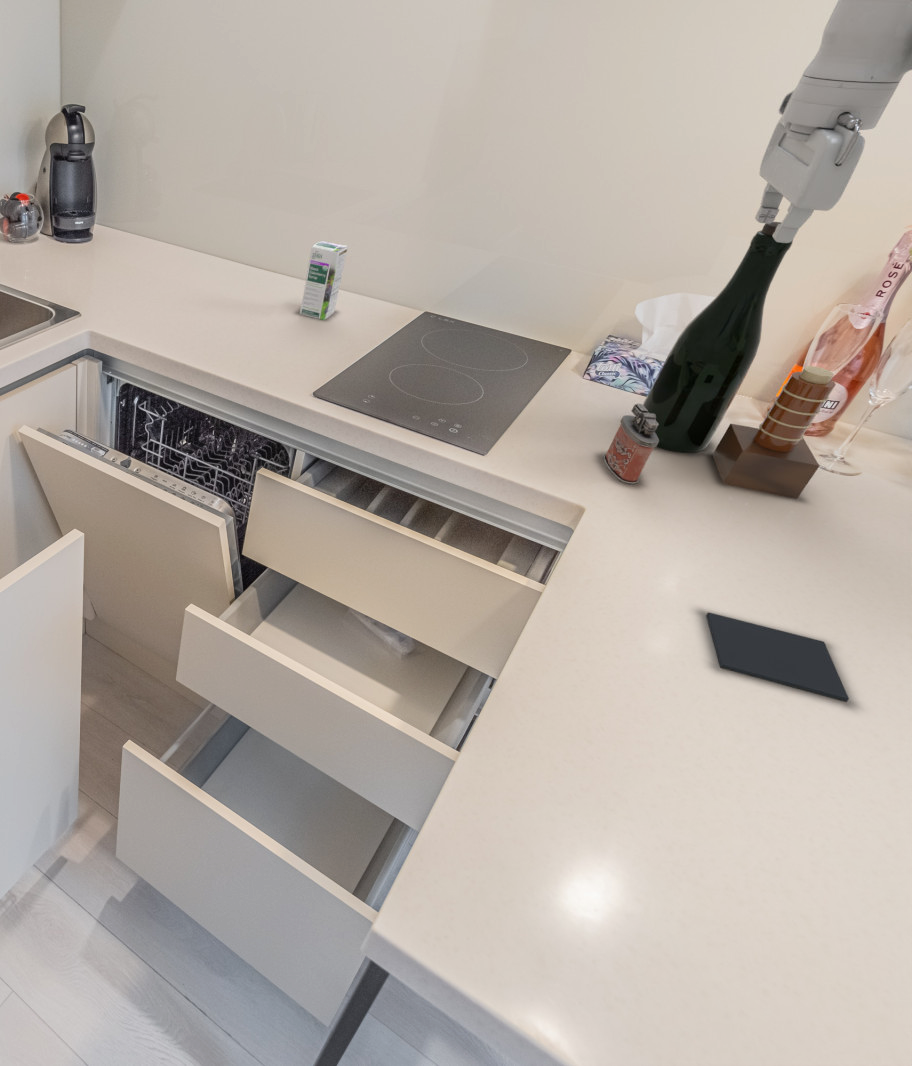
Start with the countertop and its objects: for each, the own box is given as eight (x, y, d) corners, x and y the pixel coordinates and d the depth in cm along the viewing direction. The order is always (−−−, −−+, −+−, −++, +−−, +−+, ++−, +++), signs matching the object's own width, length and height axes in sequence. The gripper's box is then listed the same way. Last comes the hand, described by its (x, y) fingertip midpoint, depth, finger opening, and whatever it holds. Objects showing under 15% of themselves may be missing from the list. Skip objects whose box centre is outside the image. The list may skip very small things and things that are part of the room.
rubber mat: (818, 647, 84) (824, 641, 83) (843, 705, 77) (849, 699, 76) (703, 618, 87) (708, 611, 87) (717, 671, 81) (722, 664, 80)
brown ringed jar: (790, 439, 109) (836, 367, 102) (799, 456, 105) (847, 382, 99) (748, 431, 111) (791, 360, 104) (756, 447, 107) (801, 374, 100)
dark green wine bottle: (720, 449, 119) (848, 230, 99) (674, 461, 115) (797, 238, 95) (659, 419, 126) (767, 210, 106) (614, 429, 123) (717, 216, 103)
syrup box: (298, 316, 160) (310, 245, 152) (309, 308, 164) (322, 239, 155) (323, 322, 158) (337, 251, 149) (334, 314, 162) (349, 244, 153)
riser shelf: (779, 471, 114) (802, 436, 110) (795, 502, 107) (819, 465, 103) (710, 457, 116) (730, 423, 113) (721, 486, 110) (742, 450, 106)
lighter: (641, 488, 109) (673, 427, 103) (616, 486, 109) (647, 425, 103) (620, 460, 115) (649, 400, 109) (596, 457, 116) (624, 398, 110)
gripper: (901, 122, 79) (825, 257, 87) (841, 98, 94) (781, 215, 102) (828, 118, 81) (760, 250, 89) (780, 94, 96) (726, 209, 104)
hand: (771, 231), depth 96 cm, fingers open, 8 cm apart
